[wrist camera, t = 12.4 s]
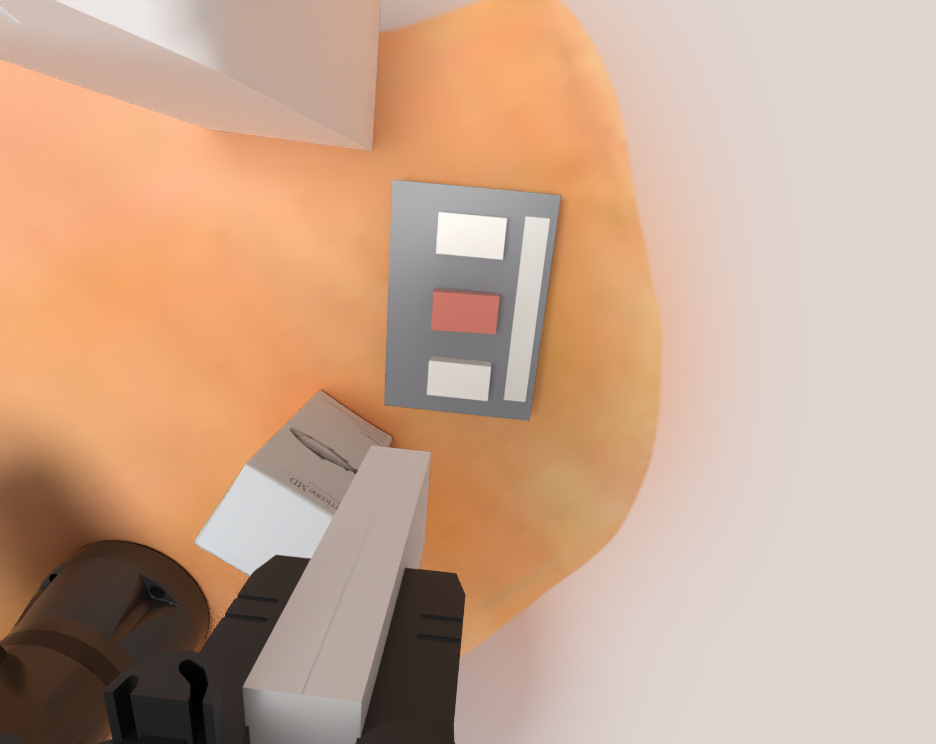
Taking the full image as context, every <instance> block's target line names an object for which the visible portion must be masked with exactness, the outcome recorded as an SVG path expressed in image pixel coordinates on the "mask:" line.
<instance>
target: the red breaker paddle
mask: <svg viewBox="0 0 936 744" xmlns="http://www.w3.org/2000/svg"><path fill="white" fill-rule="evenodd" d="M499 299H500V296H499V295H498V293H487V292H473V291H460V290H446V289H434V290H433V305H432V321H431V330H438V331H454V332H469V333H484V334H496V327H497V317H498V308H499Z"/></svg>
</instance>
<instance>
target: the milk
mask: <svg viewBox="0 0 936 744" xmlns="http://www.w3.org/2000/svg"><path fill="white" fill-rule="evenodd" d="M380 8H381V0H0V59H1V60H4V61H7V62H10V63H13V64H16V65H19V66H22V67H24V68H27V69H30V70H33V71H36V72H39V73H42V74H45V75H48V76H51V77H54V78H57V79H60V80H63V81H66V82H69V83H72V84H75V85H78V86H81V87H84V88H87V89H90V90H93V91H96V92H99V93H102V94H105V95H108V96H111V97H113V98H116V99H119V100H122V101H125V102H128V103H131V104H134V105H137V106H140V107H143V108H146V109H149V110H152V111H155V112H158V113H161V114H164V115H167V116H170V117H173V118H176V119H179V120H182V121H185V122H188V123H191V124H194V125H197V126H200V127H202V128H205V129H208V130H216V131H223V132H231V133H239V134H246V135H254V136H261V137H269V138H276V139H284V140H291V141H299V142H306V143H314V144H321V145H329V146H337V147H344V148H352V149H359V150H367V151H372V146H373V129H374V112H375V95H376V78H377V61H378V43H379V27H380Z"/></svg>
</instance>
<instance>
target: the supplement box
mask: <svg viewBox="0 0 936 744" xmlns="http://www.w3.org/2000/svg"><path fill="white" fill-rule="evenodd" d="M392 439H393V438H392V436H390V435H388V434H386V433H385V432H383V431H381V430H380V429H378V428H376V427H375V426H373V425H372V424H370V423H368V422H367V421H365V420H364V419H362V418H361V417H359V416H358V415H356V414H355V413H353V412H352V411H350V410H349V409H347V408H346V407H345V406H343V405H341V404H340V403H339V402H337V401H336V400H334V399H333V398H331V397H330V396H329V395H327V394H326V393H324V392H323V391H322V390H319V391H318V392H317V393H316V394H315V395H314V396H313V397H312V398H311V399H310V400H309V401H308V402H307V403H306V404H305V405H304V406H303V407H302V408H301V409H300V410H299V411H298V412H297V413H296V414H295V415H294V416H293V417H292V418H291V419H290V420H289V421H288V422H287V424H286V425H285V426H284V427H283V428H281V429H280V430H279V431H278V432H277V433H276V434H275V435H274V436H273V437H272V438H271V439H270V440H269V441H268V442H267V443H266V444H265V445H264V446H263V447H262V448H261V449H260V450H259V451H258V452H257V453H256V454H255V455H254V456H253V457H252V458H251V459H250V460H249V461H248V462H247V463H246V464H245V466H244V467H243V469H242V471H241V472H240V474H239V475H238V477H237V478H236V480H235V481H234V483H233V484H232V486H231V487H230V489H229V490H228V492H227V493H226V495H225V496H224V498H223V499H222V500H221V502H220V503H219V505H218V506H217V508H216V509H215V511H214V512H213V514H212V515H211V517H210V518H209V520H208V521H207V523H206V524H205V526H204V527H203V529H202V530H201V532H200V533H199V535H198V536H197V538H196V539H195V543H196V545H198V546H199V547H201V548H202V549H204V550H206V551H207V552H209V553H211V554H213V555H215V556H216V557H218V558H220V559H221V560H223V561H225V562H226V563H228V564H230V565H232V566H233V567H235V568H237V569H238V570H240V571H242V572H243V573H245V574H246V575H248V576H251V574H252V573H253V572H254V571H255V570H256V569H258V568H259V567H260V566H262V565H263V564H264V563H266V562H267V561H268V560H269V559H271V558H272V557H273V556H275V555H284V556H292V557H301V558H310V559H311V558H312V556H313V554H314V552H315V550H316V548H317V546H318V545H319V543H320V541H321V539H322V537H323V535H324V533H325V531H326V530H327V528H328V526H329V524H330V522H331V520H332V518H333V516H334V515H335V513H336V511H337V509H338V507H339V505H340V503H341V501H342V500H343V498H344V496H345V494H346V492H347V490H348V488H349V486H350V485H351V483H352V481H353V479H354V477H355V475H356V473H357V471H358V469H359V468H360V466H361V464H362V462H363V460H364V458H365V456H366V454H367V453H368V451H369V449H370V447H371V446H381V447H389V445H390V443H391V441H392Z"/></svg>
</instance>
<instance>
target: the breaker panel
mask: <svg viewBox="0 0 936 744" xmlns="http://www.w3.org/2000/svg"><path fill="white" fill-rule="evenodd" d="M560 198H561V195H554V194H543V193H532V192H521V191H510V190H499V189H488V188H477V187H466V186H455V185H444V184H433V183H422V182H411V181H400V180H392V205H391V233H390V262H389V290H388V319H387V347H386V375H385V404H384V405H386V406H396V407H405V408H415V409H424V410H434V411H443V412H452V413H462V414H471V415H481V416H490V417H500V418H509V419H519V420H528V421H530V414H531V406H532V399H533V392H534V385H535V378H536V370H537V363H538V356H539V349H540V342H541V335H542V327H543V320H544V313H545V306H546V299H547V291H548V284H549V277H550V270H551V263H552V255H553V248H554V241H555V234H556V227H557V220H558V212H559V205H560ZM434 289H446V290H460V291H473V292H487V293H498V295H499V296H500V299H499V308H498V317H497V327H496V334H484V333H469V332H454V331H438V330H431V321H432V305H433V290H434Z"/></svg>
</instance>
